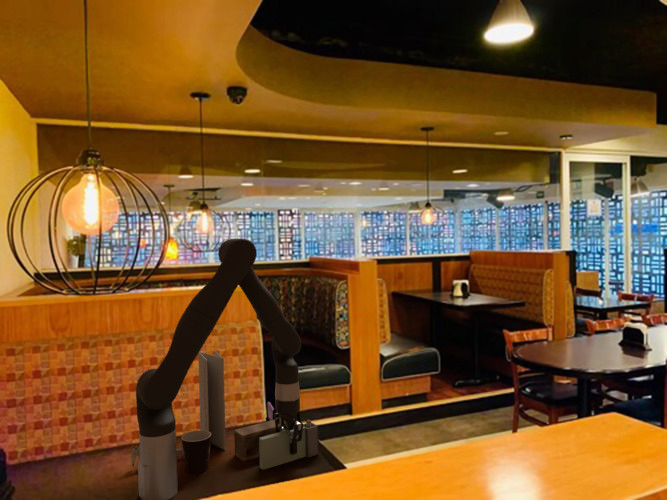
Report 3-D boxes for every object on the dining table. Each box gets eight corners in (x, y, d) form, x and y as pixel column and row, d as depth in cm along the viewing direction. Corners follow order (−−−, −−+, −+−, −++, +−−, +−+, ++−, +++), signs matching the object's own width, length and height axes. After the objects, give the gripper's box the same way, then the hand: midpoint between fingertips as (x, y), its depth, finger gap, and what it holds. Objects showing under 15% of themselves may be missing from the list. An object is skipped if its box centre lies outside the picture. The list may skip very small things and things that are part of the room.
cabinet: (257, 472, 148) (256, 435, 148) (234, 455, 161) (234, 421, 160) (314, 454, 160) (313, 420, 160) (289, 439, 172) (288, 407, 172)
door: (264, 471, 149) (264, 441, 148) (258, 466, 152) (257, 436, 152) (318, 454, 160) (318, 425, 160) (311, 449, 163) (310, 422, 163)
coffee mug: (204, 476, 146) (203, 442, 146) (176, 474, 148) (175, 440, 148) (221, 459, 158) (220, 427, 157) (195, 457, 159) (194, 426, 159)
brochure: (200, 437, 175) (198, 351, 175) (216, 435, 178) (214, 349, 177) (208, 453, 162) (206, 360, 162) (225, 449, 165) (223, 358, 164)
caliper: (132, 468, 152) (131, 447, 152) (131, 466, 153) (130, 446, 153) (200, 452, 161) (200, 433, 161) (200, 451, 162) (199, 432, 162)
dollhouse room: (271, 430, 182) (270, 411, 182) (264, 419, 193) (264, 401, 193) (303, 425, 185) (303, 407, 185) (295, 415, 197) (295, 397, 197)
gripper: (265, 393, 159) (266, 446, 160) (289, 404, 148) (290, 462, 148) (286, 388, 164) (287, 440, 164) (310, 399, 152) (311, 455, 152)
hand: (288, 450), depth 156 cm, fingers open, 5 cm apart
